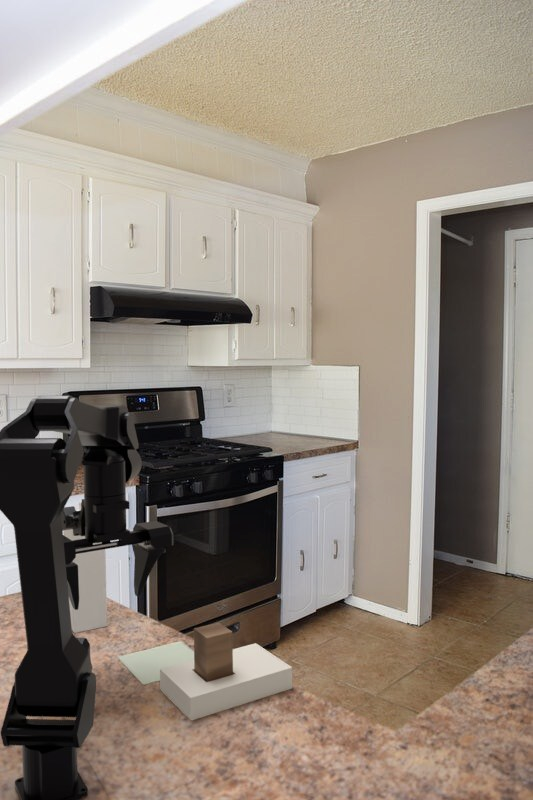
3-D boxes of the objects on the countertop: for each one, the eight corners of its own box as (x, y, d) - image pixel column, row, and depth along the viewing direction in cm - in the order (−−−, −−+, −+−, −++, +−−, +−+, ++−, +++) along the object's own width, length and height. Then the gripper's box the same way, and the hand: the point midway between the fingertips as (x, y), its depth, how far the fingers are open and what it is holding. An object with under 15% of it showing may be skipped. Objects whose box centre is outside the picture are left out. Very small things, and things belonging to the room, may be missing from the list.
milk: (73, 633, 119) (69, 509, 117) (65, 622, 124) (61, 502, 122) (108, 626, 122) (104, 504, 120) (98, 615, 127) (95, 498, 125)
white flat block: (292, 691, 97) (292, 667, 97) (190, 724, 89) (190, 697, 88) (256, 665, 105) (255, 643, 105) (160, 692, 97) (159, 668, 97)
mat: (211, 669, 104) (211, 665, 104) (143, 688, 98) (143, 684, 98) (180, 644, 113) (180, 641, 113) (117, 660, 108) (117, 656, 108)
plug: (233, 694, 95) (232, 631, 95) (207, 702, 93) (206, 638, 93) (219, 683, 99) (218, 622, 98) (194, 690, 97) (193, 628, 96)
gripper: (142, 479, 108) (144, 576, 109) (21, 492, 97) (24, 599, 98) (174, 489, 99) (176, 595, 99) (45, 505, 88) (48, 623, 89)
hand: (107, 602), depth 97 cm, fingers open, 9 cm apart
